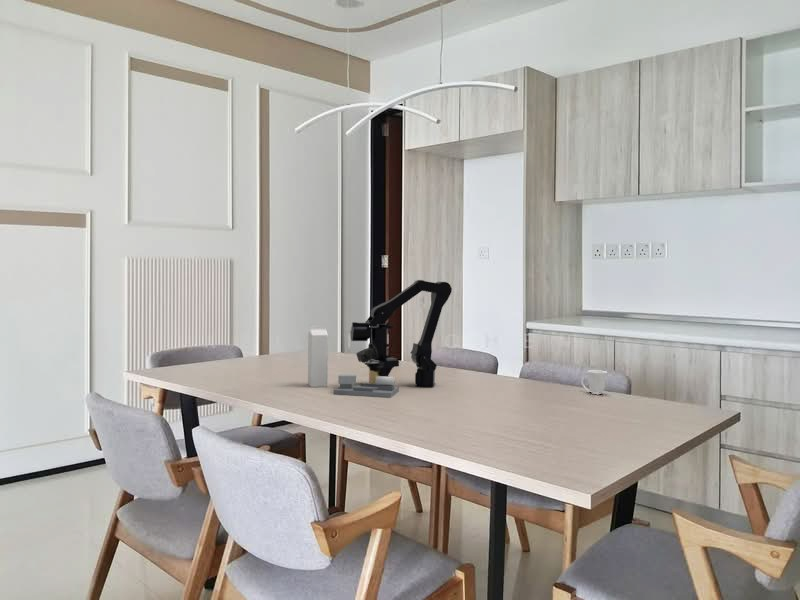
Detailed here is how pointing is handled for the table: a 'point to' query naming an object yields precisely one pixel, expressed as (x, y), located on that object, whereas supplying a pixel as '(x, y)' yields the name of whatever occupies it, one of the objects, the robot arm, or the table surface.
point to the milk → (317, 356)
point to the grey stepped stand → (366, 387)
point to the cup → (595, 380)
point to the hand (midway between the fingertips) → (378, 383)
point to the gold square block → (373, 375)
